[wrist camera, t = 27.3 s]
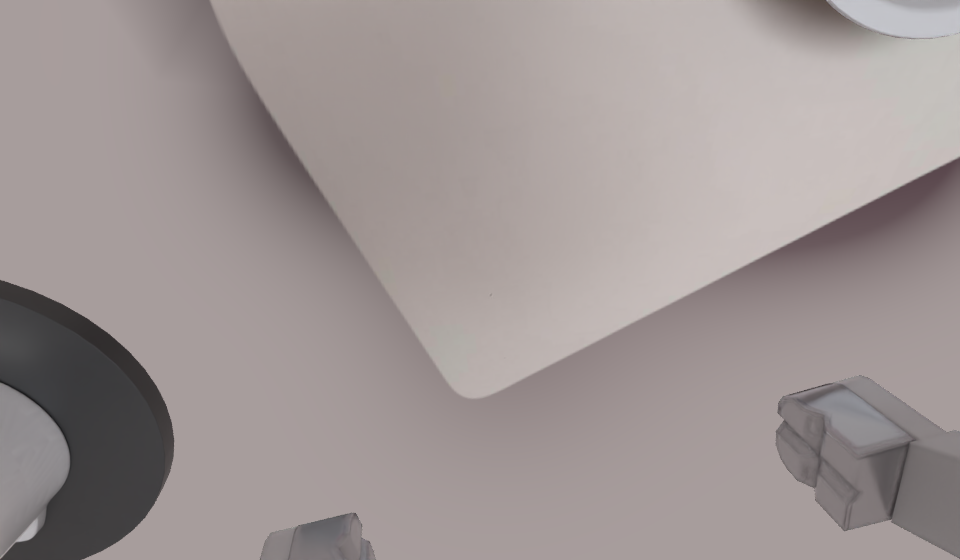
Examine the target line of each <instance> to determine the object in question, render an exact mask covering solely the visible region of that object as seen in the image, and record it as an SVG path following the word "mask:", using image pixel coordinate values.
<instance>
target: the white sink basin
mask: <svg viewBox="0 0 960 560" xmlns="http://www.w3.org/2000/svg"><path fill="white" fill-rule="evenodd" d="M826 1H827V2H828V3H829V4H830V5H831V6H832V7H833V8H834V9H835V10H837V11H838V12H839V13H840V14H842V15H843V16H844V17H846V18H847V19H849V20H851V21H852V22H854V23H856V24H858V25H859V26H861V27H864V28H866V29H869V30H871V31H874V32H877V33H879V34H884V35H888V36H892V37H897V38H907V39H931V38H938V37H945V36H950V35H954V34H958V33H960V0H826Z"/></svg>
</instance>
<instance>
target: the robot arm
mask: <svg viewBox="0 0 960 560" xmlns="http://www.w3.org/2000/svg"><path fill="white" fill-rule="evenodd" d="M778 414H779V415H780V416H781V417H782V418H783V419H784V421H783V423H782V424H781V425H780V427H779V428H778V429H777V431H776V446H777V449H778V452H779V455H780V458H781V460H782V462H783V463H784V465H785V466H786V468H787V470H788V471H789V472H790V473H791V474H792V475H793V476H794V477H795V479H796V480H797V481H799V482H802V483H804V484H806V485H808V486H811V487H813V488H814V489H815V490H814V491H815V500H816V501H817V502H818V503H819V504H820V506H821V507H822V508H823V509H824V510H825V511H826V512H827V513H828V514H829V515H830V516H831V518H832V519H833V520H834V521H835V522H836V523H837V524H838V525H839V526H840V527H841V528H842V529H843V530H844V531H847V530H851V529H855V528H859V527H863V526H867V525H871V524H875V523H879V522H883V521H887V520H891V519H892V521H891V522H892V523H894V524H896V525H898V526H899V527H901V528H903V529H905V530H907V531H909V532H911V533H913V534H914V535H917V536H918V537H920V538H922V539H924V540H926V541H928V542H929V543H931V544H933V545H935V546H937V547H939V548H941V549H943V550H945V551H947V552H949V553H950V554H952V555H954V556H956V557H958V558H960V432H959V431H956V430H954V431H950V432H946V431H944V430H943V429H941V428H940V427H939V426H937V425H936V424H934V423H933V422H931V421H930V420H929V419H927V418H926V417H924V416H923V415H921V414H920V413H918V412H917V411H916V410H914V409H913V408H911V407H910V406H909V405H907V404H906V403H904V402H903V401H901V400H900V399H899V398H897V397H896V396H894V395H893V394H891V393H890V392H889V391H887V390H885V389H884V388H882V387H881V386H880V385H879V384H877V383H876V382H874V381H873V380H871V379H870V378H868V377H864V376H861V375H859V376H855V377H851V378H848V379H844V380H841V381H837V382H834V383H830V384H825V385H822V386H818V387H815V388H812V389H808V390H804V391H801V392H797V393H793V394H790V395H786V396H783V397H782V398H781V400H780V401H779V403H778ZM69 469H70V452H69V448H68V445H67V442H66V439H65V437H64V435H63V433H62V432H61V430H60V428H59V427H58V425H57V424H56V423H55V422H54V420H53V419H52V418H51V417H50V416H49V415H48V414H47V413H46V412H45V411H44V410H43V409H42V408H41V407H40V406H39V405H37V404H36V403H35V402H34V401H32V400H31V399H29V398H28V397H26V396H25V395H23V394H22V393H20V392H18V391H17V390H15V389H13V388H11V387H9V386H7V385H5V384H3V383H1V382H0V559H1V558H2V557H3V556H4V554H5V553H6V552H7V551H8V550H9V549H10V548H11V547H12V546H13V544H14V543H15V542H22V541H27V540H30V539H31V538H33V537H34V536H35V535H36V534H37V533H38V531H39V530H40V529H41V528H42V527H43V525H44V523H45V518H46V509H47V505H48V503H49V502H50V500H51V499H52V498H53V497H54V496H55V495H56V494H57V492H58V491H59V490H60V489H61V488H62V486H63V485H64V483H65V481H66V479H67V476H68V473H69ZM361 533H362V524H361V522H360V520H359V518H358V516H357V514H356V513H349V514H345V515H340V516H336V517H333V518H328V519H324V520H320V521H315V522H311V523H307V524H303V525H299V526H297V527H293V528H289V529H285V530H280V531H276V532H272V533H270V535H269V536H268V538H267V539H266V541H265V543H264V547H263V551H262V555H261V558H260V560H376V559H375V555H374V551H373V549H372V546H371V544H370V542H369V541H367V540H365V539H363V538H361V535H362V534H361Z"/></svg>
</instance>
